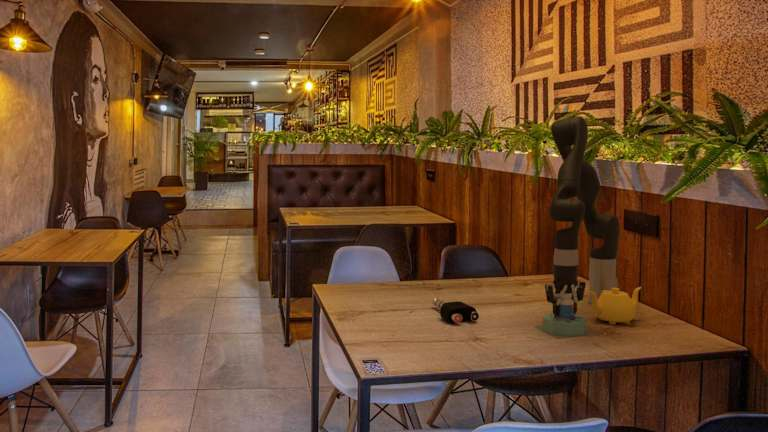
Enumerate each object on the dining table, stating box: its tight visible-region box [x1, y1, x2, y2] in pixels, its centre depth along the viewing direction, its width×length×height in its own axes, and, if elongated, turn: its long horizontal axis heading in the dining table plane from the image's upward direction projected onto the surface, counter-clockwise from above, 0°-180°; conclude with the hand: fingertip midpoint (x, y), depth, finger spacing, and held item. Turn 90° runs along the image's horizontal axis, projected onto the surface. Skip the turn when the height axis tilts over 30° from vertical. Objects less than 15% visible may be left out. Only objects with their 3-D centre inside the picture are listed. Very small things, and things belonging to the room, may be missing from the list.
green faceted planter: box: [542, 312, 587, 337], centre depth 203 cm, size 12×12×4 cm
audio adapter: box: [431, 297, 480, 325], centre depth 223 cm, size 11×5×25 cm
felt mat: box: [532, 324, 597, 340], centre depth 203 cm, size 14×14×1 cm
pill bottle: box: [556, 293, 574, 321], centre depth 203 cm, size 6×5×10 cm
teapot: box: [588, 286, 642, 325], centre depth 214 cm, size 20×15×12 cm
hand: (564, 314), depth 203 cm, fingers closed on pill bottle, 5 cm apart
